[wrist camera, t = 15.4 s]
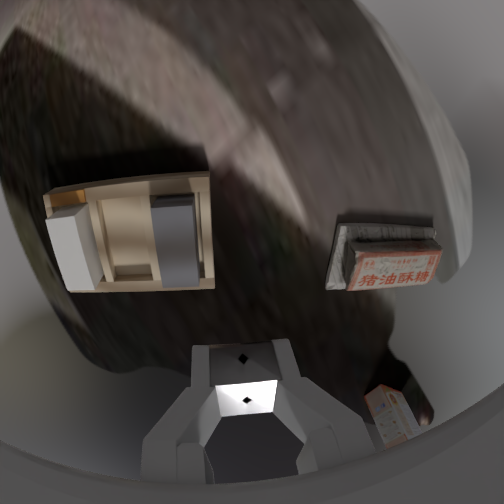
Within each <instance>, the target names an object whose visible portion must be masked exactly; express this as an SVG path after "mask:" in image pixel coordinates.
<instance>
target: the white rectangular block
mask: <svg viewBox="0 0 504 504" xmlns="http://www.w3.org/2000/svg"><path fill="white" fill-rule="evenodd" d="M46 224H47V228H48V232H49V235H50V239H51V242H52V246H53V249H54V252H55V256H56V259H57V262H58V265H59V268H60V271H61V274H62V276H63V279H64V282H65V285H66V287H67V290H68V291H74V290H95V289H96V287H97V285H98V284H99V282H100V280H101V278H102V276H103V275H104V271H103V267H102V263H101V260H100V256H99V252H98V248H97V243H96V239H95V235H94V230H93V225H92V220H91V215H90V210H89V205H88V203H87V204H80V205H73V206H67V207H61V208H60V209H59V210H58V211H56V212H55V213H54V214H52V215H51V216H50V217H49V218H47V219H46Z"/></svg>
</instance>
